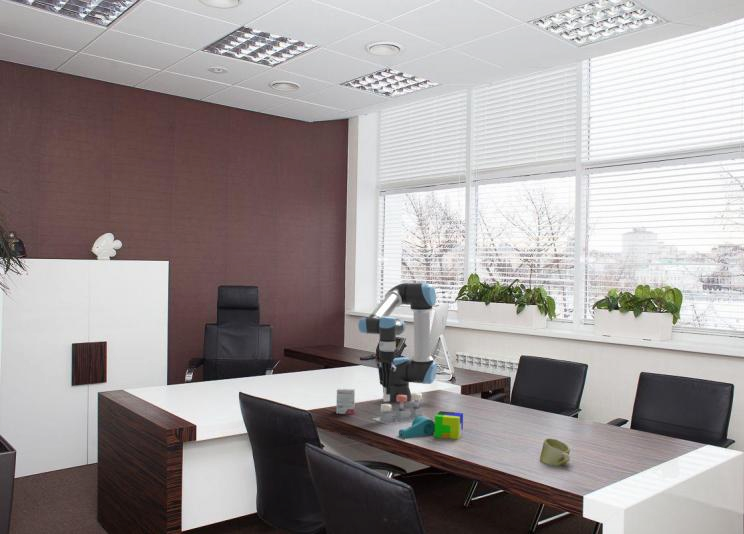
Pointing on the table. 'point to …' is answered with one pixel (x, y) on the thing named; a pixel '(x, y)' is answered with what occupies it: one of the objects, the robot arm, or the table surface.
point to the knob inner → (416, 398)
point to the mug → (554, 452)
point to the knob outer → (386, 408)
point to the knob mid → (401, 400)
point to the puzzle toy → (449, 425)
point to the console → (399, 416)
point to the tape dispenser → (419, 428)
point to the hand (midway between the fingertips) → (386, 401)
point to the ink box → (345, 401)
